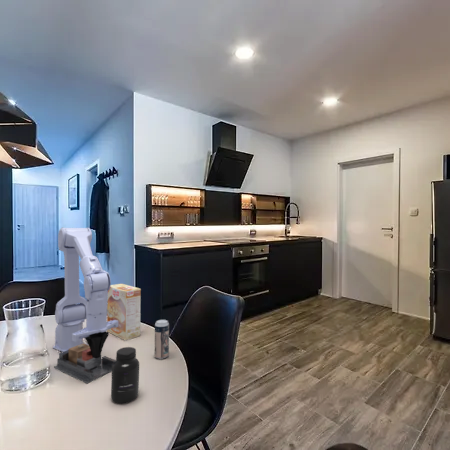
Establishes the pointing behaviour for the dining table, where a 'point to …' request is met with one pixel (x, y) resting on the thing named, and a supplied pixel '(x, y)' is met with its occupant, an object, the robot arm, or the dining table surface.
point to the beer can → (161, 339)
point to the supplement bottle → (125, 376)
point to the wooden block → (77, 352)
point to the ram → (88, 360)
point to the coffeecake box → (124, 310)
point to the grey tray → (82, 372)
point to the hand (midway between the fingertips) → (96, 357)
